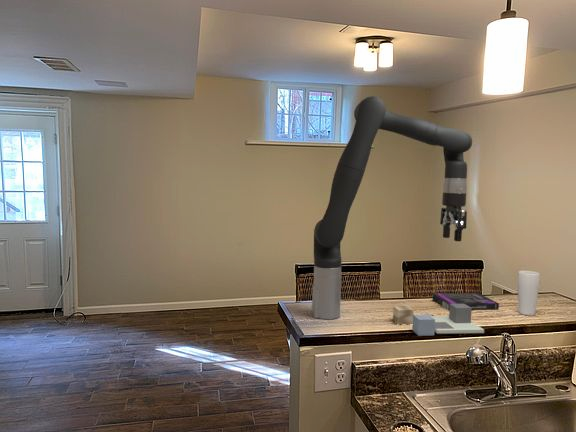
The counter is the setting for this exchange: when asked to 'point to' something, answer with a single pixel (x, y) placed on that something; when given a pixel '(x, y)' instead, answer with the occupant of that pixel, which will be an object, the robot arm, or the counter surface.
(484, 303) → the box
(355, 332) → the counter surface
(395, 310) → the maple block
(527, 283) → the drinking glass
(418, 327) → the slate block
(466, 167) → the robot arm
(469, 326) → the build plate
